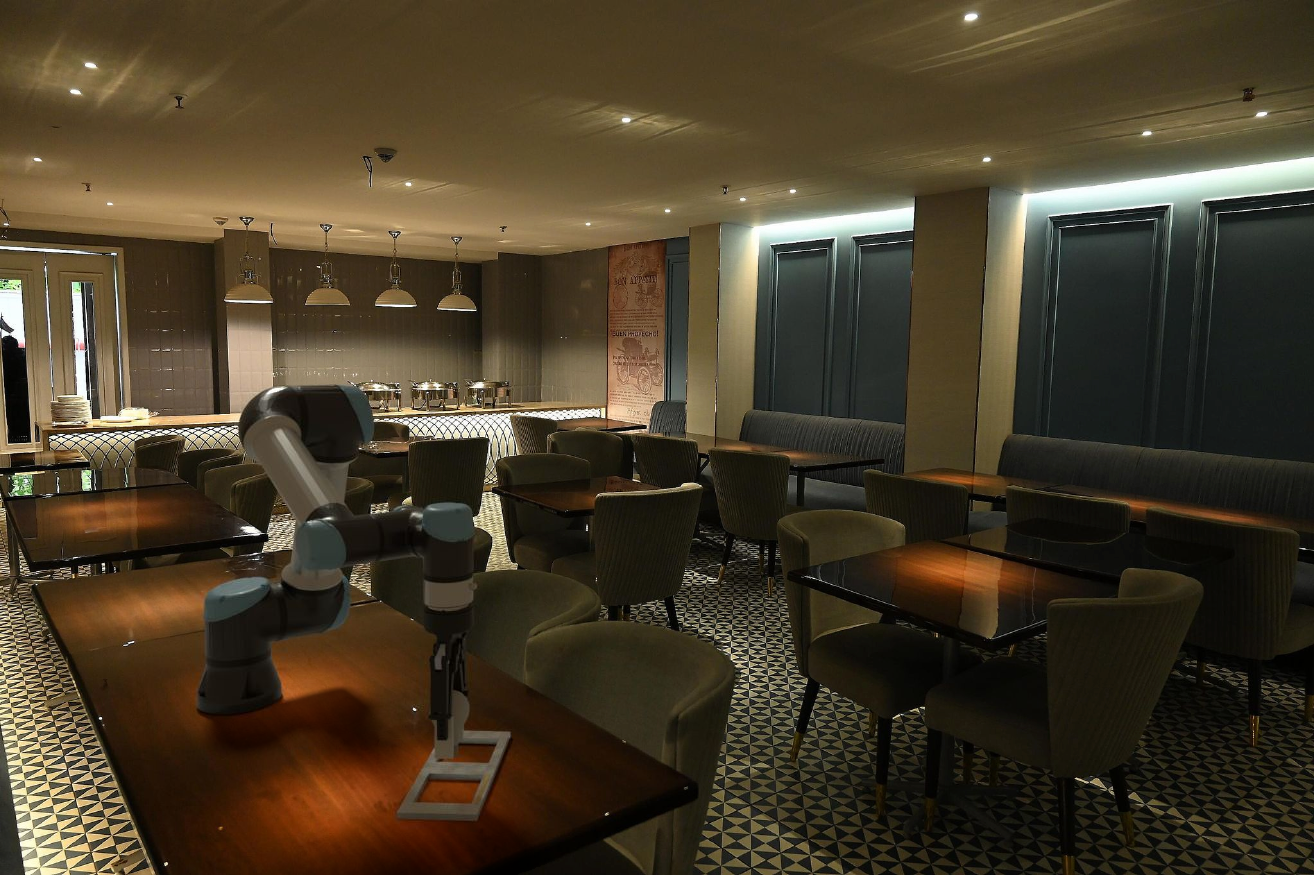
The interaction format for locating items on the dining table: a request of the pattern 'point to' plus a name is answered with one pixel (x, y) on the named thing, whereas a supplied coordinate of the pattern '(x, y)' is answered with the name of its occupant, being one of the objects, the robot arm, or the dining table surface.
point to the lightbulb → (458, 716)
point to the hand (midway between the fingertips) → (449, 747)
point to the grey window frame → (456, 772)
